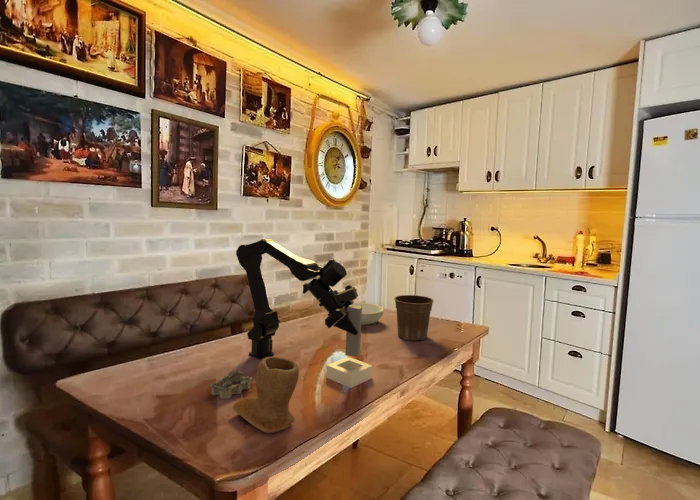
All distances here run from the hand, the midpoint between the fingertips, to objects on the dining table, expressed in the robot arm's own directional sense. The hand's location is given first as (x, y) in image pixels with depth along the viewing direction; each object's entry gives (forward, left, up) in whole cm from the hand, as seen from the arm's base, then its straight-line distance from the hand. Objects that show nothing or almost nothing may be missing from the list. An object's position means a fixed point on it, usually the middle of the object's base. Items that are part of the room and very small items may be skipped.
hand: (357, 332), depth 122 cm
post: (-1, +1, -7) cm, 7 cm away
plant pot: (+46, +9, -14) cm, 49 cm away
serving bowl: (+46, +37, -14) cm, 61 cm away
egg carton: (-34, +17, -14) cm, 40 cm away
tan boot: (-36, -2, -14) cm, 38 cm away
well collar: (-4, 0, -14) cm, 14 cm away
